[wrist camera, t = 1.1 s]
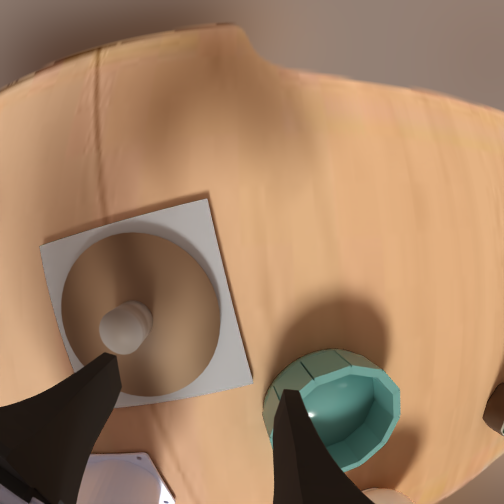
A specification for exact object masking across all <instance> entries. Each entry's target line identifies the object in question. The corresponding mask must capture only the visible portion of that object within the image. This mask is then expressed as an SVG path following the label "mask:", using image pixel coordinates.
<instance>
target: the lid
mask: <svg viewBox="0 0 504 504" xmlns="http://www.w3.org/2000/svg"><path fill="white" fill-rule="evenodd" d="M61 315H62V322H63V327H64V330H65V334H66V337H67V339H68V342H69V344H70V346H71V348H72V350H73V352H74V353H75V355H76V356H77V358H78V359H79V361H80V362H81V363H82V365H83V366H85V365H87V364H88V363H90V362H91V361H92V360H94V359H95V358H97V357H98V356H99V355H101V354H102V353H104V352H106V353H110V354H113V355H116V356H117V362H118V367H119V373H120V378H121V383H122V389H121V391H120V392H123V393H126V394H130V395H135V396H144V397H153V396H162V395H166V394H170V393H173V392H176V391H178V390H180V389H182V388H184V387H186V386H188V385H189V384H190V383H192V382H193V381H194V380H196V379H197V378H198V377H199V376H200V375H201V374H202V373H203V371H204V370H205V369H206V367H207V366H208V365H209V363H210V361H211V359H212V357H213V355H214V353H215V350H216V347H217V344H218V339H219V335H220V310H219V305H218V300H217V296H216V293H215V290H214V288H213V286H212V284H211V281H210V279H209V278H208V276H207V274H206V273H205V271H204V270H203V268H202V267H201V266H200V265H199V263H198V262H197V261H196V260H195V259H194V258H193V257H192V256H191V255H190V254H189V253H188V252H186V251H185V250H184V249H182V248H181V247H179V246H178V245H176V244H174V243H173V242H171V241H169V240H167V239H164V238H161V237H159V236H155V235H150V234H146V233H136V232H130V233H120V234H115V235H111V236H109V237H106V238H103V239H101V240H99V241H98V242H96V243H94V244H93V245H91V246H90V247H89V248H87V249H86V250H85V251H84V252H83V253H82V254H81V255H80V256H79V257H78V259H77V260H76V261H75V263H74V264H73V266H72V267H71V269H70V271H69V273H68V275H67V278H66V281H65V283H64V288H63V292H62V300H61Z"/></svg>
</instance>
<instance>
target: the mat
mask: <svg viewBox="0 0 504 504" xmlns="http://www.w3.org/2000/svg"><path fill="white" fill-rule="evenodd" d="M130 232H136V233H146V234H150V235H155V236H159V237H161V238H164V239H167V240H169V241H171V242H173V243H174V244H176V245H178V246H179V247H181V248H182V249H184V250H185V251H186V252H188V253H189V254H190V255H191V256H192V257H193V258H194V259H195V260H196V261H197V262H198V263H199V265H200V266H201V267H202V268H203V270H204V271H205V273H206V274H207V276H208V278H209V279H210V281H211V284H212V286H213V288H214V290H215V293H216V296H217V300H218V305H219V310H220V335H219V339H218V344H217V347H216V350H215V353H214V355H213V357H212V359H211V361H210V363H209V365H208V366H207V367H206V369H205V370H204V371H203V373H202V374H201V375H200V376H199V377H198V378H197V379H196V380H194V381H193V382H192V383H190V384H189V385H188V386H186V387H184V388H182V389H180V390H178V391H176V392H173V393H170V394H166V395H162V396H153V397H144V396H135V395H130V394H126V393H123V392H120V394H119V397H118V399H117V402H116V404H115V406H114V408H121V407H130V406H139V405H146V404H153V403H160V402H167V401H173V400H179V399H184V398H190V397H195V396H200V395H206V394H210V393H215V392H220V391H224V390H229V389H233V388H237V387H242V386H246V385H250V384H253V380H252V376H251V373H250V369H249V365H248V362H247V358H246V354H245V351H244V347H243V343H242V339H241V335H240V332H239V328H238V324H237V320H236V316H235V312H234V308H233V304H232V300H231V296H230V292H229V288H228V284H227V280H226V276H225V272H224V268H223V264H222V260H221V256H220V251H219V247H218V243H217V239H216V235H215V230H214V226H213V222H212V217H211V213H210V208H209V204H208V200H207V199H203V200H199V201H194V202H190V203H186V204H182V205H178V206H174V207H170V208H166V209H162V210H159V211H155V212H151V213H147V214H143V215H140V216H136V217H132V218H129V219H125V220H122V221H118V222H115V223H111V224H108V225H104V226H101V227H98V228H94V229H91V230H88V231H85V232H81V233H78V234H75V235H72V236H69V237H65V238H62V239H59V240H56V241H53V242H50V243H47V244H44V245H41V246H39V247H40V252H41V258H42V263H43V268H44V273H45V277H46V282H47V286H48V290H49V294H50V298H51V302H52V306H53V310H54V313H55V317H56V320H57V323H58V327H59V330H60V333H61V336H62V339H63V342H64V345H65V348H66V351H67V354H68V357H69V359H70V362H71V365H72V367H73V370H74V373H75V372H77V371H78V370H80V369H81V368H83V367H84V366H83V365H82V363H81V362H80V361H79V359H78V358H77V356H76V355H75V353H74V352H73V350H72V348H71V346H70V344H69V342H68V339H67V337H66V334H65V330H64V327H63V322H62V315H61V300H62V292H63V288H64V283H65V281H66V278H67V275H68V273H69V271H70V269H71V267H72V266H73V264H74V263H75V261H76V260H77V259H78V257H79V256H80V255H81V254H82V253H83V252H84V251H85V250H86V249H87V248H89V247H90V246H91V245H93V244H94V243H96V242H98V241H99V240H101V239H103V238H106V237H109V236H111V235H115V234H120V233H130Z"/></svg>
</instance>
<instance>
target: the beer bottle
mask: <svg viewBox="0 0 504 504" xmlns="http://www.w3.org/2000/svg"><path fill="white" fill-rule="evenodd" d="M483 420H484V421H485V423H486V424H487V425H488V426H489V427H490V428H492V429H493V430H494V431H496V432H498V433H499V434H501V435H503V436H504V383H502V384H500V385H499V386H498V387H497V388H496V390H495V391H494V393H493V394H492V396H491V397H490V399H489V400H488V402H487V405H486V408H485V412H484V415H483Z"/></svg>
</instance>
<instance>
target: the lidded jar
mask: <svg viewBox="0 0 504 504" xmlns="http://www.w3.org/2000/svg"><path fill="white" fill-rule="evenodd" d="M362 492H363V493H364V494H365V495H366V496H367V497H368V498H369V499H370V500H372V501H373V502H374V503H375V504H415V503H414V501H412V500H411V499H410V498H409V497H408V496H406V495H405V494H403V493H402V492H399V491H396V490H393V489H379V488H369V489H366V490H363V491H362Z"/></svg>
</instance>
